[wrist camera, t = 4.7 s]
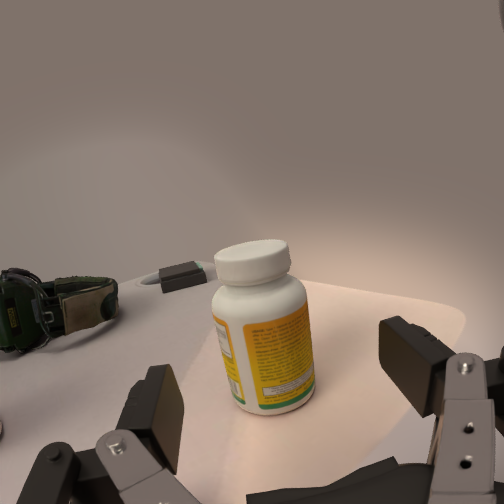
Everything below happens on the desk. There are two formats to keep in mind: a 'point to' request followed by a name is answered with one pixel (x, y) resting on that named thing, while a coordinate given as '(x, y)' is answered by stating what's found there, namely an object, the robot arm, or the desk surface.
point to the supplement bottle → (263, 327)
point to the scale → (181, 276)
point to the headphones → (51, 307)
